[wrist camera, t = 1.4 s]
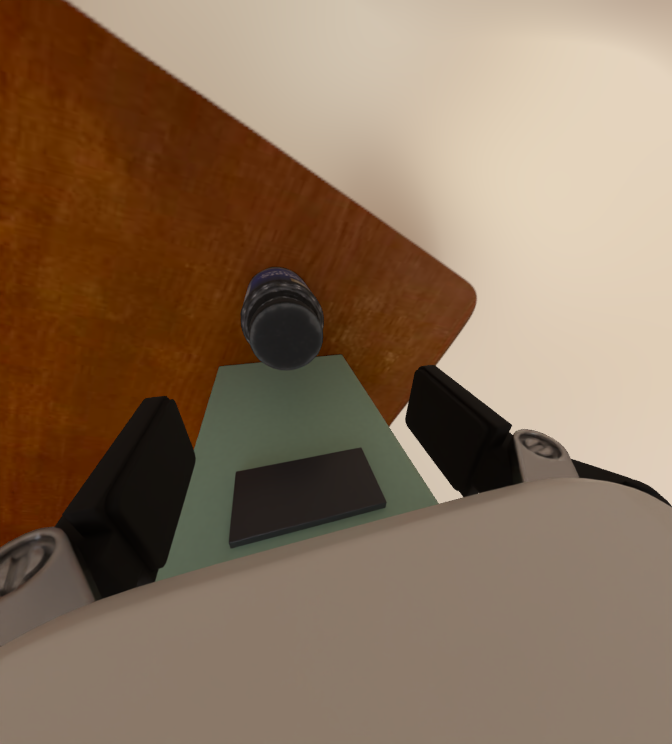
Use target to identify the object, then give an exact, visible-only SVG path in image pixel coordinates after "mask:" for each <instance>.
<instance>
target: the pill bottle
mask: <svg viewBox="0 0 672 744" xmlns="http://www.w3.org/2000/svg"><path fill="white" fill-rule="evenodd" d="M323 324H324V317H323V311H322V308H321V306H320V304H319V302H318V300H317V299H316V297H315V296H314V295H313V293H312V292H311V291H310V289H309V288H308V287H307V285H306V284H305V283H304V281H303V280H302V278H301V277H299V276H298V275H297V274H296V273H294V272H293V271H291V270H289V269H286V268H281V267H270V268H267V269H265V270H263V271H261V272H259V273H258V274H256V275H255V276H254V277H253V278H252V280H251V282H250V283H249V286H248V289H247V293H246V296H245V300H244V304H243V307H242V310H241V327H242V331H243V333H244V336H245V338H246V340H247V341H248V343H249V344H250V345H251V348H252V350H253V352H254V354H255V355H256V357H257V358H258V359H259V360H260V361H261V362H263V363H264V364H265V365H267V366H269V367H271V368H274V369H278V370H295V369H298V368H301V367H303V366H305V365H307V364H309V363H310V362H311V361H312V360H313V359H314V358H315V357H316V356H317V354H318V353H319V351H320V348H321V346H322V342H323Z"/></svg>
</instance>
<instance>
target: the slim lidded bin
mask: <svg viewBox="0 0 672 744" xmlns="http://www.w3.org/2000/svg"><path fill="white" fill-rule="evenodd" d="M194 452H195V457H196V462H195V466H194V470H193V473H192V477H191V480H190V483H189V487H188V490H187V494H186V497H185V501H184V504H183V507H182V511H181V514H180V518H179V521H178V525H177V528H176V531H175V535H174V538H173V542H172V545H171V549H170V552H169V555H168V559H167V562H166V564H165V566H164V567H163V568H160V569H159V570H158V573H157V577H156V580H155V582H156V581H160V580H163V579H167V578H170V577H174V576H177V575H180V574H184V573H187V572H191V571H194V570H198V569H201V568H204V567H208V566H211V565H215V564H218V563H222V562H226V561H229V560H233V559H237V558H240V557H244V556H248V555H251V554H255V553H258V552H262V551H266V550H269V549H273V548H277V547H280V546H284V545H288V544H291V543H295V542H299V541H302V540H306V539H310V538H313V537H317V536H321V535H324V534H328V533H332V532H335V531H339V530H343V529H347V528H350V527H354V526H358V525H361V524H365V523H369V522H373V521H376V520H380V519H384V518H388V517H391V516H395V515H399V514H403V513H406V512H410V511H414V510H418V509H421V508H425V507H429V506H433V505H437V504H439V503H438V502H437V500H436V499H435V497H434V496H433V494H432V493H431V491H430V489H429V488H428V487H427V485H426V483H425V482H424V480H423V479H422V477H421V476H420V474H419V473H418V471H417V469H416V468H415V466H414V465H413V463H412V462H411V460H410V459H409V457H408V456H407V454H406V453H405V451H404V450H403V448H402V447H401V445H400V443H399V442H398V440H397V439H396V437H395V436H394V434H393V433H392V431H391V429H390V428H389V426H388V425H387V423H386V422H385V420H384V419H383V417H382V416H381V414H380V413H379V411H378V409H377V408H376V406H375V405H374V403H373V402H372V400H371V399H370V397H369V396H368V394H367V393H366V391H365V390H364V388H363V386H362V385H361V383H360V382H359V380H358V379H357V377H356V376H355V374H354V373H353V371H352V370H351V368H350V366H349V365H348V363H347V362H346V360H345V359H344V357H343V356H342V355H331V356H321V357H315V358H314V359H313V360H312V361H311V362H310V363H309V364H307V365H305V366H303V367H301V368H298V369H295V370H278V369H274V368H271V367H269V366H267V365H265V364H264V363H263V362H260V363H250V364H240V365H230V366H220V367H219V369H218V372H217V376H216V379H215V382H214V386H213V389H212V392H211V396H210V399H209V402H208V406H207V409H206V412H205V415H204V419H203V422H202V425H201V429H200V432H199V435H198V439H197V442H196V445H195V449H194Z"/></svg>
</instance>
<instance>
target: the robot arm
mask: <svg viewBox="0 0 672 744" xmlns="http://www.w3.org/2000/svg"><path fill="white" fill-rule="evenodd" d="M405 420H406V424H407V426H408V428H409V429H410V430H411V432H412V433H413V434H414V436H415V437H416V438H417V440H418V441H419V442H420V444H421V445H422V446H423V448H424V449H425V451H426V452H427V453H428V455H429V456H430V457H431V458H432V460H433V461H434V463H435V464H436V465H437V467H438V468H439V469H440V470H441V472H442V473H443V475H444V476H445V477H446V479H447V480H448V481H449V483H450V484H451V485H452V487H453V488H454V489H455V490H457V491H459V492H460V493H461V494H462V496H463V498H460V499H456V500H452V501H449V502H445V503H441V504H437V505H433V506H429V507H425V508H421V509H418V510H414V511H410V512H406V513H403V514H399V515H395V516H391V517H388V518H384V519H380V520H376V521H373V522H369V523H365V524H361V525H358V526H354V527H350V528H347V529H343V530H339V531H335V532H332V533H328V534H324V535H321V536H317V537H313V538H310V539H306V540H302V541H299V542H295V543H291V544H288V545H284V546H280V547H277V548H273V549H269V550H266V551H262V552H258V553H255V554H251V555H248V556H244V557H240V558H237V559H233V560H229V561H226V562H222V563H218V564H215V565H211V566H208V567H204V568H201V569H198V570H194V571H191V572H187V573H184V574H180V575H177V576H174V577H170V578H167V579H163V580H160V581H156V582H155V580H156V577H157V573H158V570H159V569H160V568H163V567H164V566H165V564H166V562H167V559H168V555H169V552H170V549H171V545H172V542H173V538H174V535H175V531H176V528H177V525H178V521H179V518H180V514H181V511H182V507H183V504H184V501H185V497H186V494H187V490H188V487H189V483H190V480H191V477H192V473H193V470H194V466H195V462H196V457H195V452H194V450H193V447H192V445H191V442H190V439H189V437H188V434H187V431H186V429H185V426H184V423H183V421H182V418H181V416H180V413H179V410H178V408H177V405H176V403H175V401H174V400H173V399H171V400H169V398H168V397H167V396H161V397H152V398H146V399H144V400H143V402H142V403H141V404H140V406H139V407H138V409H137V410H136V411H135V413H134V414H133V416H132V417H131V419H130V420H129V421H128V423H127V424H126V426H125V427H124V428H123V430H122V431H121V433H120V434H119V435H118V437H117V438H116V440H115V441H114V442H113V444H112V445H111V447H110V448H109V449H108V451H107V452H106V454H105V455H104V457H103V458H102V459H101V461H100V462H99V464H98V465H97V466H96V468H95V469H94V471H93V472H92V473H91V475H90V476H89V478H88V479H87V480H86V482H85V483H84V485H83V486H82V487H81V489H80V490H79V492H78V493H77V495H76V496H75V497H74V499H73V500H72V502H71V503H70V504H69V506H68V507H67V509H66V510H65V511H64V513H63V514H62V515H63V516H62V517H61V518H60V520H59V521H58V523H57V524H56V526H55V527H46V528H40V529H37V530H34V531H31V532H28V533H25V534H23V535H21V536H19V537H17V538H15V539H13V540H11V541H10V542H8V543H6V544H5V545H3V546H2V547H0V744H672V506H671V505H670V504H669V502H668V501H667V500H666V499H664V498H663V497H662V496H661V495H660V494H658V492H657V491H655V490H654V489H653V488H651V487H650V486H648V485H646V484H644V483H642V482H640V481H637V480H633V479H631V478H628V477H625V476H622V475H619V474H616V473H613V472H610V471H607V470H604V469H601V468H598V467H594V466H592V465H589V464H585V463H582V462H579V461H576V460H573V459H571V458H570V456H569V454H568V452H567V451H566V449H565V448H564V447H563V446H562V445H561V444H560V443H559V442H557V441H556V440H554V439H553V438H551V437H549V436H547V435H545V434H543V433H540V432H537V431H534V430H528V429H521V430H518V431H516V432H515V433H514V435H512V434H511V433H509V430H510V429H511V426H512V425H511V424H510V423H509V422H507V421H506V420H505V419H504V418H502V417H501V416H499V415H498V414H497V413H496V412H494V411H493V410H492V409H491V408H489V407H488V406H487V405H485V404H484V403H483V402H482V401H480V400H479V399H478V398H476V397H475V396H474V395H472V394H471V393H470V392H469V391H467V390H466V389H464V388H463V387H462V386H461V385H459V384H458V383H457V382H455V381H454V380H453V379H452V378H450V377H449V376H448V375H446V374H445V373H444V372H442V371H441V370H440V369H439V368H437V367H436V366H435V365H427V366H421V367H419V368H418V370H416V372H415V374H414V379H413V384H412V389H411V394H410V398H409V403H408V408H407V413H406V418H405ZM478 493H479V494H478Z"/></svg>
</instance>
